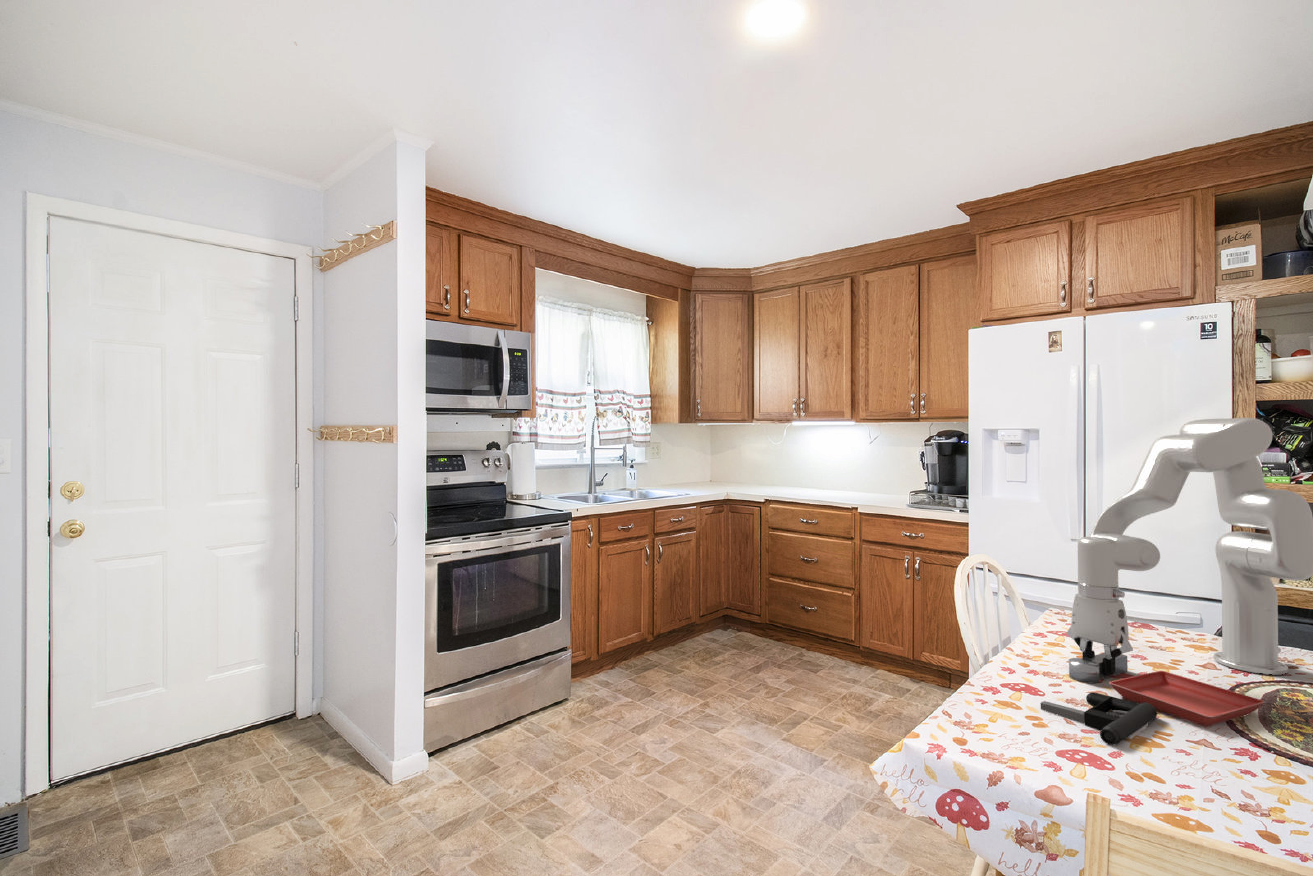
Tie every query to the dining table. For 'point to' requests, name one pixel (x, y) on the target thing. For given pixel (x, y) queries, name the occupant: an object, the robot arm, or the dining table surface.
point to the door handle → (1109, 716)
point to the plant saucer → (1186, 697)
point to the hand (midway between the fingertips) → (1098, 671)
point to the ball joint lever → (1094, 668)
